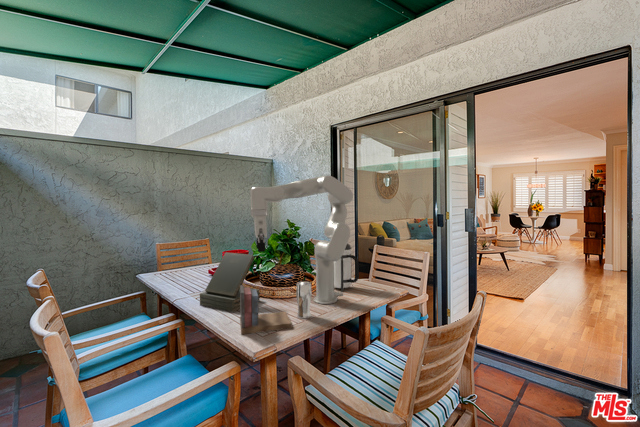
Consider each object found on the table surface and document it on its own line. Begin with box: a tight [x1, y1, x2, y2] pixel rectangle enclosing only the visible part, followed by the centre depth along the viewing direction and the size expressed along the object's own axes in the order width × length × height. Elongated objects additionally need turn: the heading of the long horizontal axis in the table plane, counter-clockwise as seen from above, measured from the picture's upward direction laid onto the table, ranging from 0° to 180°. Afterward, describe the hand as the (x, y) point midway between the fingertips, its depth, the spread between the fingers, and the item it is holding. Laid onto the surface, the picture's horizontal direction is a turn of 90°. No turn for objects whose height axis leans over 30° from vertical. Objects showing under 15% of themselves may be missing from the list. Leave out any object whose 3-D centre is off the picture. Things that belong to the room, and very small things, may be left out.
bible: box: [199, 251, 261, 313], centre depth 154 cm, size 23×20×25 cm
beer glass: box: [295, 281, 313, 320], centre depth 135 cm, size 7×7×15 cm
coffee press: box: [333, 242, 360, 293], centre depth 178 cm, size 17×16×30 cm
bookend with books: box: [239, 284, 293, 335], centre depth 126 cm, size 20×14×16 cm
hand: (260, 249), depth 140 cm, fingers open, 9 cm apart
